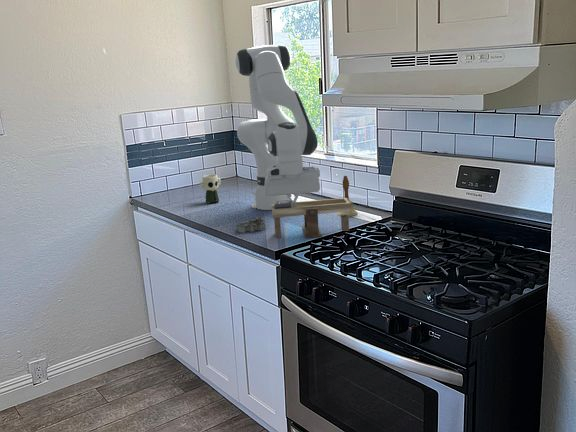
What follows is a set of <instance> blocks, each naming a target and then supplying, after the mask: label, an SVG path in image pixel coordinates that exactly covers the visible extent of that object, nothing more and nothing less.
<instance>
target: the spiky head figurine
mask: <svg viewBox="0 0 576 432" xmlns="http://www.w3.org/2000/svg"><path fill="white" fill-rule="evenodd" d="M201 178H202V180H201V181H199V187H200V189H203V190H205V191H206V192H205V203H207V202H215V201H216V202H215V203H218V202H217V201H220V198H219V194H218V191H217V189H218V188H219V185H221V184H222V181H221V177H218V175H217V174H205V175H202V177H201Z"/></svg>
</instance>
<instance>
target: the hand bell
mask: <svg viewBox="0 0 576 432" xmlns="http://www.w3.org/2000/svg"><path fill="white" fill-rule="evenodd" d="M342 189H343V191H344V194H343V195H344V198H347V200H348V201H349V202H350V211H346V212H337V213H336V214H337V216H339V217H341V214H344V213H346V214H347V216H348V217H355V216H357V215H358V214H359V213H358V211H356V209H355V206H354V204H353V203H354V202H353V200H351V199H350V196H349V189H350V182H349V178H348V176H347V175H343V179H342Z"/></svg>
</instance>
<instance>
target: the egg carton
mask: <svg viewBox="0 0 576 432" xmlns="http://www.w3.org/2000/svg"><path fill="white" fill-rule="evenodd" d="M265 224H266V222H264V219H263V218H262V216H256V217H253V219H250V220H247V221H242V222H236V226H237V228H236V229H237V231H238V233H246V232H254V231H263V230H265V229H266V228H265V226H266V225H265Z"/></svg>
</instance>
